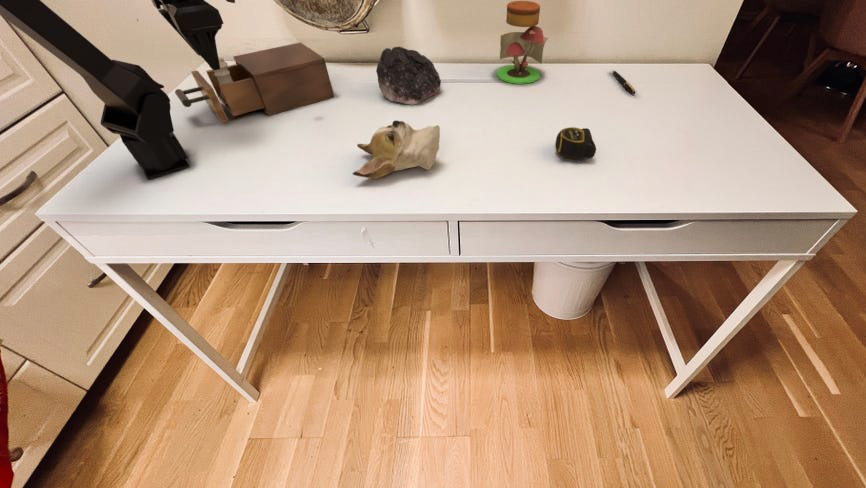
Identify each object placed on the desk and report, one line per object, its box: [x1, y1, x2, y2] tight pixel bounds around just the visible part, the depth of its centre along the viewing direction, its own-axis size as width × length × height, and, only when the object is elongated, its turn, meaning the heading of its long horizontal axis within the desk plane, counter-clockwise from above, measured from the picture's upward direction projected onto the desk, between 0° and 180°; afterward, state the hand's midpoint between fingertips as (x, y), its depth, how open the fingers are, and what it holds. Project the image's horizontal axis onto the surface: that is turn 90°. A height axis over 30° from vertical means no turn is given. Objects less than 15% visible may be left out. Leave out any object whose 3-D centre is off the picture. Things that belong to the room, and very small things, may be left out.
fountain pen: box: [611, 69, 636, 95], centre depth 94 cm, size 14×1×2 cm, turn 8°
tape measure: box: [554, 126, 597, 160], centre depth 71 cm, size 7×7×4 cm
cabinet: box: [233, 41, 335, 116], centre depth 85 cm, size 15×13×8 cm
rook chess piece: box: [208, 57, 233, 105], centre depth 78 cm, size 4×4×8 cm
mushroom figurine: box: [496, 0, 550, 85], centre depth 92 cm, size 12×13×15 cm
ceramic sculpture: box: [352, 120, 441, 179], centre depth 66 cm, size 11×9×15 cm
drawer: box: [174, 63, 265, 123], centre depth 80 cm, size 18×11×6 cm, turn 130°
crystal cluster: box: [375, 46, 442, 106], centre depth 87 cm, size 13×14×10 cm
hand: (209, 62), depth 70 cm, fingers open, 9 cm apart
